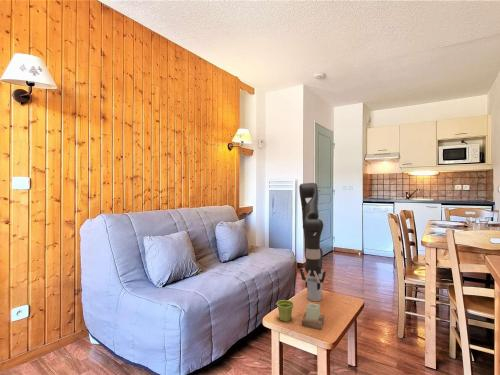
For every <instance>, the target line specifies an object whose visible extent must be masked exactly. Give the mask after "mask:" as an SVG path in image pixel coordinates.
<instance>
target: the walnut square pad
mask: <svg viewBox="0 0 500 375" xmlns="http://www.w3.org/2000/svg"><path fill="white" fill-rule="evenodd" d="M324 323H325V315H324V314H320V317H319V319H318V321H315V320H310V319H306V312H304V315H303V317H302V319H301V327H304V328H305V327H306V328H309V329H310V328H311V329H315V330H321V331H322V330H323V329H322V328H323V325H324Z"/></svg>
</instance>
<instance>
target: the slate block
mask: <svg viewBox="0 0 500 375" xmlns="http://www.w3.org/2000/svg"><path fill="white" fill-rule="evenodd" d="M317 283H318V282H317V279H310V278H309V279H308V281H307V287H306V291H312V292H317V291H318V290H317Z"/></svg>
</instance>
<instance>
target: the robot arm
mask: <svg viewBox="0 0 500 375" xmlns="http://www.w3.org/2000/svg"><path fill="white" fill-rule="evenodd" d="M298 190H299V198H300V204H301V214H302V215H301V218H302V229H303V240H304V241H303V243H304V245H303V246H304V249H303V250H304V253H303V254H304V259H305V267H300V269H299V272H300V276H301V280H302V281H304V282H305V283H304V284H305V288H307V281H308V279H309V278H310V279H317V282H318V283H317V290H318V291H317V292H312V291H307V290H306V291H307V292H306V297H307V300H308V301H311V302H320V301H322V299H323V283H324V281H325V278H326V274H327V270H323V258H324V257H323V255H324V253H323V249H322V247H321V245H320V243H321V235H322V234H323V228H324V223H323V222H324V221H322V220H321V219H319V210H318V203H319V202H318V200H319V188H318V185H317V183H316V182H306V183H300V185H299V187H298ZM307 199H310V200H309V201H308V202H307ZM305 272H306V276H305Z"/></svg>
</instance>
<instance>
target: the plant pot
mask: <svg viewBox="0 0 500 375" xmlns="http://www.w3.org/2000/svg"><path fill="white" fill-rule="evenodd" d="M276 306H277V309H278V316H279V320H280V321H283V322H286V323H287V322H290V321H291V320H292V313H293V312H292V311H293V307H294V306H295V305H294V302H293V301H291V300H289V299H288V300H287V299H281V300H277V302H276Z"/></svg>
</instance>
